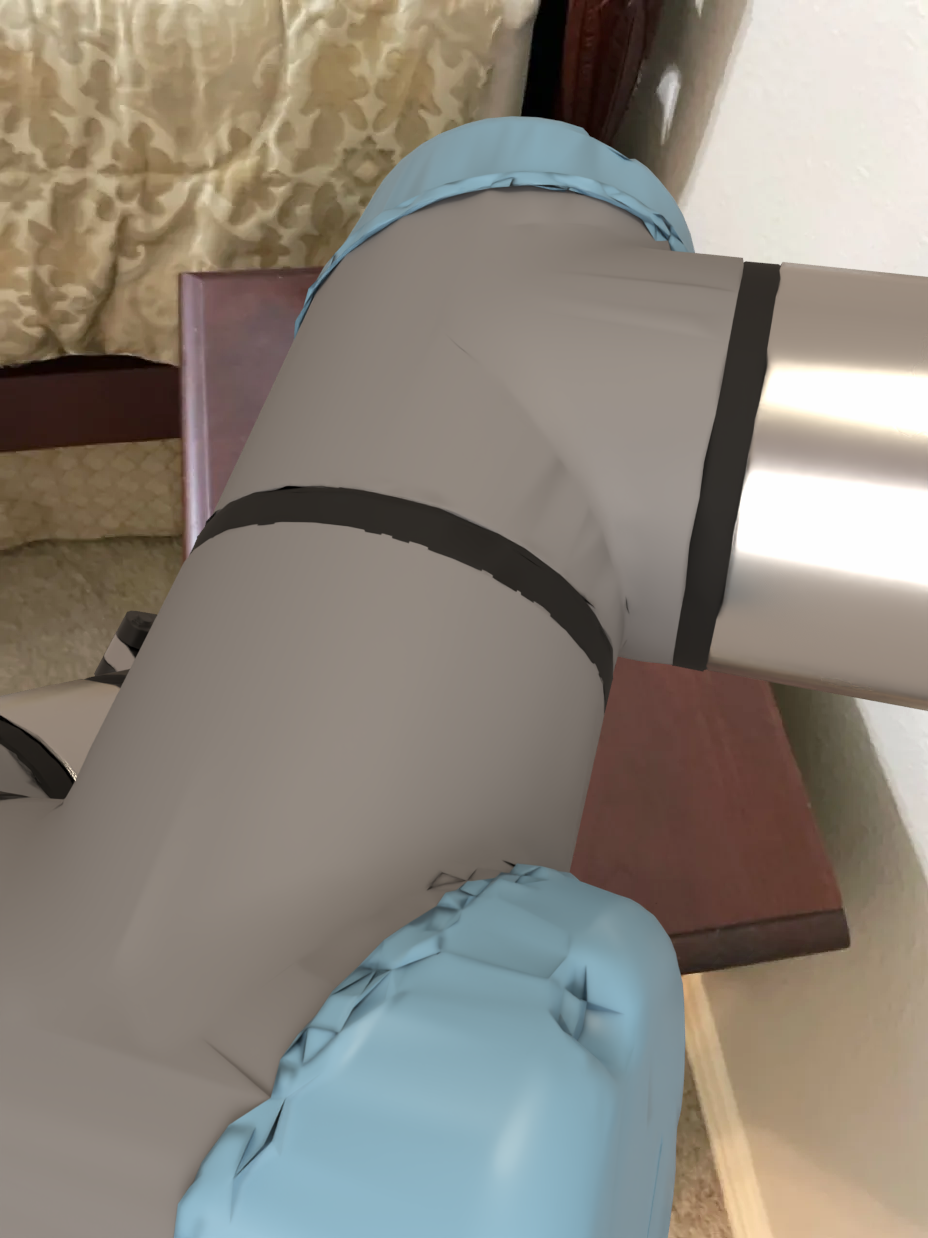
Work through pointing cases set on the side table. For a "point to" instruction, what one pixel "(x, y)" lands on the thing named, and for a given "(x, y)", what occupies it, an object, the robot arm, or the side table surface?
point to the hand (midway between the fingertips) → (454, 685)
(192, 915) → the robot arm
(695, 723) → the side table surface
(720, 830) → the side table surface
